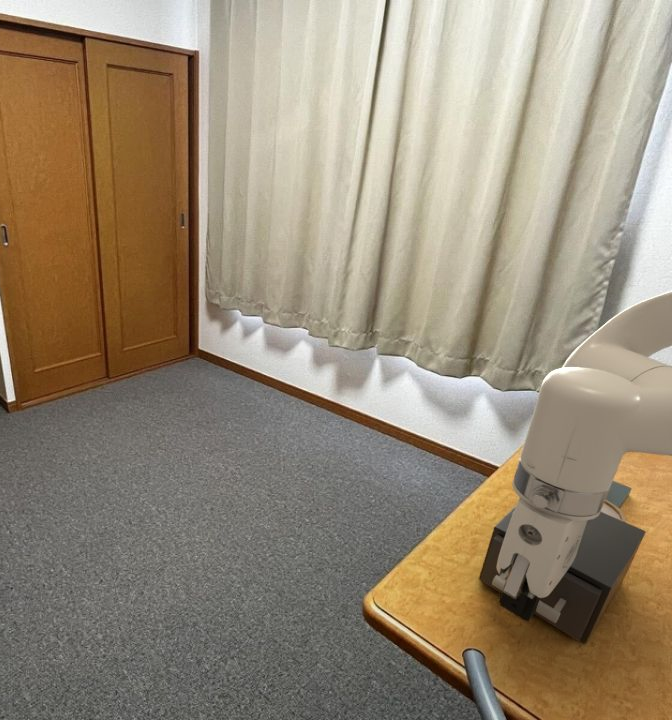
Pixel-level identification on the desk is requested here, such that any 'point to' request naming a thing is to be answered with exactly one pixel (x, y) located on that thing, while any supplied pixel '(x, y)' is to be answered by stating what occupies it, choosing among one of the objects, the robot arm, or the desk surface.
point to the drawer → (552, 596)
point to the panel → (618, 494)
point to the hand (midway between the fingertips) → (516, 609)
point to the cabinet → (596, 558)
